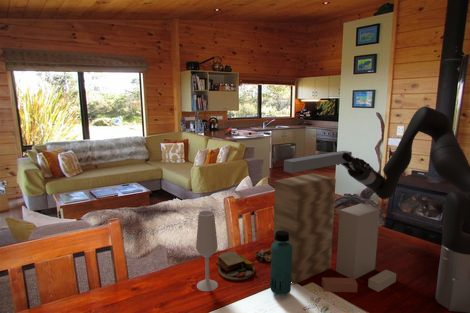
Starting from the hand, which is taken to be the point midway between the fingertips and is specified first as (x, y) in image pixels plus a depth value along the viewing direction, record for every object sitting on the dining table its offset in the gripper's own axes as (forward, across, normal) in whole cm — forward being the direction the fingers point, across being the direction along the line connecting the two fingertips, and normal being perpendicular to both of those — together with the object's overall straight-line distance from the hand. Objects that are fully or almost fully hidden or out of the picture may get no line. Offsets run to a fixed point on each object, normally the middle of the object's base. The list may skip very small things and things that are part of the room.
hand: (338, 154), depth 119 cm
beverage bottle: (+9, +6, +50) cm, 51 cm away
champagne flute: (+22, -11, +58) cm, 63 cm away
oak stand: (-5, 0, +42) cm, 42 cm away
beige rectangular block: (-17, +21, +35) cm, 45 cm away
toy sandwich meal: (+12, -13, +52) cm, 55 cm away
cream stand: (-18, +11, +35) cm, 40 cm away
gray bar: (+7, 0, +8) cm, 10 cm away
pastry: (-2, -12, +44) cm, 46 cm away
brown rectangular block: (-6, +15, +42) cm, 45 cm away
